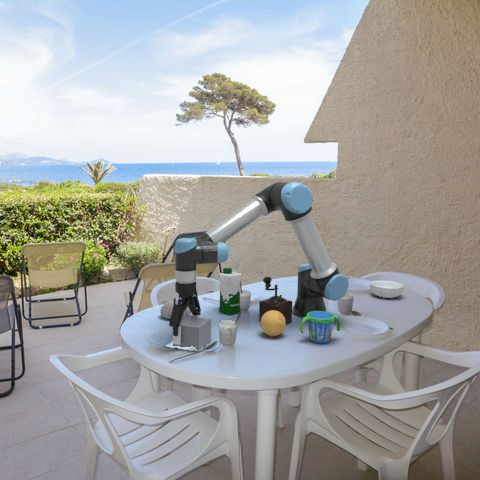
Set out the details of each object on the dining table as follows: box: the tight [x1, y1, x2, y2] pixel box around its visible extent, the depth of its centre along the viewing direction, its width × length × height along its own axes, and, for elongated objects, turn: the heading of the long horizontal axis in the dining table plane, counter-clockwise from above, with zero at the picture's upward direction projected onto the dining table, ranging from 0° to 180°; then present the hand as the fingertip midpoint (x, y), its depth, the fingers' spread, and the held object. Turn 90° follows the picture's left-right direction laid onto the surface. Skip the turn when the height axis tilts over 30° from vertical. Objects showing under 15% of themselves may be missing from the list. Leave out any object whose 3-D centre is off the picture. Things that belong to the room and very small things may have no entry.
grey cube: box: [173, 316, 212, 353], centre depth 161 cm, size 10×10×9 cm
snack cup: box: [299, 311, 342, 344], centre depth 168 cm, size 16×10×10 cm
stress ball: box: [259, 310, 287, 338], centre depth 172 cm, size 10×10×10 cm
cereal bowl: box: [369, 280, 404, 299], centre depth 234 cm, size 17×17×7 cm
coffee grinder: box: [258, 276, 293, 325], centre depth 191 cm, size 16×11×18 cm
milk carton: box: [218, 267, 243, 316], centre depth 202 cm, size 9×9×20 cm
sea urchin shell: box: [159, 298, 192, 320], centre depth 194 cm, size 13×14×8 cm
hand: (185, 338), depth 163 cm, fingers open, 13 cm apart
